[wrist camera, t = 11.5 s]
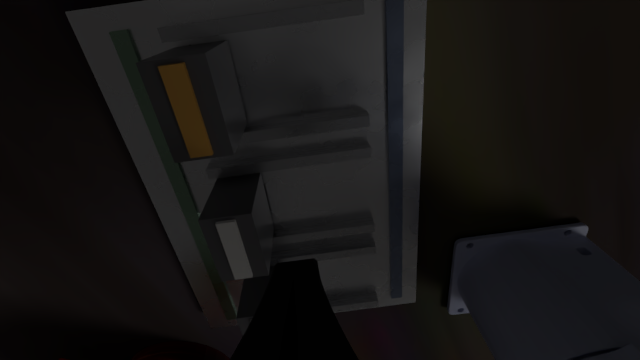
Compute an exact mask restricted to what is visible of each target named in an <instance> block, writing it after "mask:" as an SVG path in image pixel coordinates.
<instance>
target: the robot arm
mask: <svg viewBox="0 0 640 360" xmlns="http://www.w3.org/2000/svg"><path fill="white" fill-rule="evenodd" d="M587 232H588V226H587V225H585V224H584V223H573V224H565V225H558V226H550V227H543V228H535V229H528V230H520V231H512V232H505V233H497V234H490V235H482V236H475V237H467V238H460V239H458V240H456V242H455V243H454V249H453V258H452V267H451V276H450V285H449V294H448V303H447V310H448V312H449V314H452V315H455V314H463V313H470V314H471V316H472V318H473V320H474V322H475V323H476V325H477V327H478V329H479V331H480V333H481V334H482V336H483V338H484V340H485V342H486V344H487V346H488V347H489V349H490V351H491V353H492V355H493V357H494V358H495V360H640V281H639V280H637V279H636V278H635V277H634V276H633V275H631V274H630V273H629V272H628V271H627V270H625V269H624V268H623V267H622V266H621V265H619V264H618V263H617V262H616V261H615V260H613V259H612V258H611V257H610V256H609V255H607V254H606V253H605V252H604V251H603V250H601V249H600V248H599V247H598V246H597V245H595V244H594V243H593V242H592V241H591V240H589V239H588V238H587V237H586V234H587ZM469 243H470V244H469ZM467 244H469V245H467ZM230 360H358V358H357V356H356V354H355V353H354V351H353V349H352V347H351V346H350V344H349V342H348V340H347V338H346V336H345V335H344V333H343V331H342V329H341V327H340V325H339V323H338V321H337V319H336V316H335V314H334V312H333V310H332V307H331V305H330V303H329V301H328V298H327V296H326V293H325V290H324V288H323V285H322V282H321V278H320V273H319V268H318V262H317V260H316V259H314V258H311V259H304V260H296V261H289V262H281V263H277V264H276V265H275V266H274V269H273V272H272V275H271V277H270V280H269V283H268V285H267V287H266V290H265V292H264V295H263V297H262V299H261V301H260V303H259V306H258V308H257V310H256V312H255V314H254V316H253V318H252V320H251V322H250V324H249V326H248V328H247V330H246V332H245V334H244V335H243V337H242V339H241V341H240V343H239V345H238V346H237V348H236V350H235V352H234V354H233V355H232V357H231V359H230Z"/></svg>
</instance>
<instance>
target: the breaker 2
mask: <svg viewBox="0 0 640 360" xmlns="http://www.w3.org/2000/svg"><path fill="white" fill-rule="evenodd" d="M273 269H274V267H270V270H269V275H268V276H260V277H253V278H245V279H244V281H243V286H242V291H241V296H240V301H239V306H238V311H237V316H236V320H237V322H238V325H239V328H240V330H241V333H242V335H244V334H245V332H246V330H247V328H248V326H249V324H250V322H251V320H252V318H253V316H254V314H255V312H256V310H257V308H258V306H259V303H260V301H261V299H262V297H263V295H264V292H265V290H266V287H267V285H268V283H269V280H270V277H271V275H272V272H273Z"/></svg>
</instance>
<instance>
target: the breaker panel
mask: <svg viewBox="0 0 640 360" xmlns="http://www.w3.org/2000/svg"><path fill="white" fill-rule="evenodd" d="M426 6H427V0H144V1H137V2H130V3H123V4H116V5H109V6H102V7H95V8H88V9H81V10H74V11H67V12H65V13H66V16H67V18H68V20H69V22H70V24H71V26H72V29H73V31H74V33H75V35H76V37H77V39H78V42H79V44H80V46H81V48H82V50H83V52H84V55H85V57H86V59H87V61H88V63H89V66H90V68H91V70H92V72H93V74H94V76H95V79H96V81H97V83H98V85H99V87H100V89H101V92H102V94H103V96H104V98H105V100H106V102H107V105H108V107H109V109H110V111H111V113H112V115H113V118H114V120H115V122H116V124H117V126H118V129H119V131H120V133H121V135H122V137H123V139H124V142H125V144H126V146H127V148H128V150H129V152H130V155H131V157H132V159H133V161H134V163H135V165H136V168H137V170H138V172H139V174H140V176H141V178H142V181H143V183H144V185H145V187H146V189H147V192H148V194H149V196H150V198H151V200H152V202H153V205H154V207H155V209H156V211H157V213H158V215H159V218H160V220H161V222H162V224H163V226H164V228H165V231H166V233H167V235H168V237H169V239H170V241H171V244H172V246H173V248H174V250H175V252H176V255H177V257H178V259H179V261H180V263H181V265H182V268H183V270H184V272H185V274H186V276H187V278H188V281H189V283H190V285H191V287H192V289H193V291H194V294H195V296H196V298H197V300H198V302H199V304H200V307H201V309H202V311H203V313H204V315H205V318H206V320H207V322H208V324H209V326H210V328H211V329H213V328H221V327H228V326H236V325H238V322H237V320H236V316H237V311H238V306H239V301H240V296H241V291H242V286H243V281H244V279H238V280H230V281H221V279H220V276H219V274H218V271H217V268H216V266H215V263H214V261H213V258H212V256H211V253H210V250H209V248H208V245H207V243H206V240H205V238H204V235H203V232H202V230H201V227H200V225H199V222H198V219H199V217H200V215H201V213H202V211H203V208H204V206H205V204H206V202H207V200H208V197H209V195H210V193H211V191H212V189H213V186H214V184H215V182H216V180H217V178H224V177H231V176H239V175H246V174H254V173H261V176H262V180H263V184H264V189H265V193H266V197H267V201H268V205H269V209H270V213H271V217H272V221H273V225H274V233H273V243H272V252H271V261H270V267H274V266H275V265H276V264H277V263H281V262H289V261H296V260H304V259H311V258H314V259H316V260H317V262H318V268H319V273H320V278H321V282H322V285H323V288H324V290H325V293H326V296H327V298H328V301H329V303H330V305H331V307H332V310H333V312H334V313H336V312H344V311H351V310H359V309H367V308H375V307H382V306H390V305H398V304H405V303H413V302H416V275H417V248H418V221H419V194H420V167H421V140H422V113H423V86H424V59H425V33H426ZM225 40H227V41H228V45H229V49H230V53H231V57H232V61H233V65H234V70H235V74H236V78H237V82H238V86H239V90H240V94H241V98H242V102H243V106H244V110H245V114H246V118H247V122H248V123H247V125H246V127H245V130H244V132H243V135H242V137H241V139H240V142H239V144H238V147H237V149H236V151H235V154H234V155H230V156H223V157H216V158H208V159H201V160H194V161H186V162H179V163H174V160H173V158H172V155H171V153H170V150H169V148H168V145H167V142H166V140H165V137H164V135H163V132H162V130H161V127H160V124H159V122H158V119H157V117H156V114H155V112H154V109H153V107H152V104H151V101H150V99H149V96H148V94H147V91H146V89H145V86H144V84H143V81H142V78H141V76H140V73H139V71H138V68H137V66H136V62H139V61H141V60H144V59H146V58H149V57H152V56H154V55H157V54H159V53H162V52H164V51H167V50H169V49H172V48H175V47H182V46H189V45H197V44H204V43H211V42H218V41H225Z"/></svg>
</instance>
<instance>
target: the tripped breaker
mask: <svg viewBox="0 0 640 360" xmlns="http://www.w3.org/2000/svg"><path fill="white" fill-rule="evenodd" d="M136 66H137V68H138V71H139V73H140V76H141V78H142V81H143V84H144V86H145V89H146V91H147V94H148V96H149V99H150V101H151V104H152V107H153V109H154V112H155V114H156V117H157V119H158V122H159V124H160V127H161V130H162V132H163V135H164V137H165V140H166V142H167V145H168V148H169V150H170V153H171V155H172V158H173V160H174V163H179V162H186V161H194V160H201V159H208V158H216V157H223V156H230V155H234V154H235V151H236V149H237V147H238V144H239V142H240V139H241V137H242V135H243V132H244V130H245V127H246V125H247V123H248V122H247V118H246V114H245V110H244V106H243V102H242V98H241V94H240V90H239V86H238V82H237V78H236V74H235V70H234V65H233V61H232V57H231V53H230V49H229V45H228V41H227V40H225V41H218V42H211V43H204V44H197V45H189V46H182V47H175V48H172V49H169V50H167V51H164V52H162V53H159V54H157V55H154V56H152V57H149V58H146V59H144V60H141V61H139V62H136Z"/></svg>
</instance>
